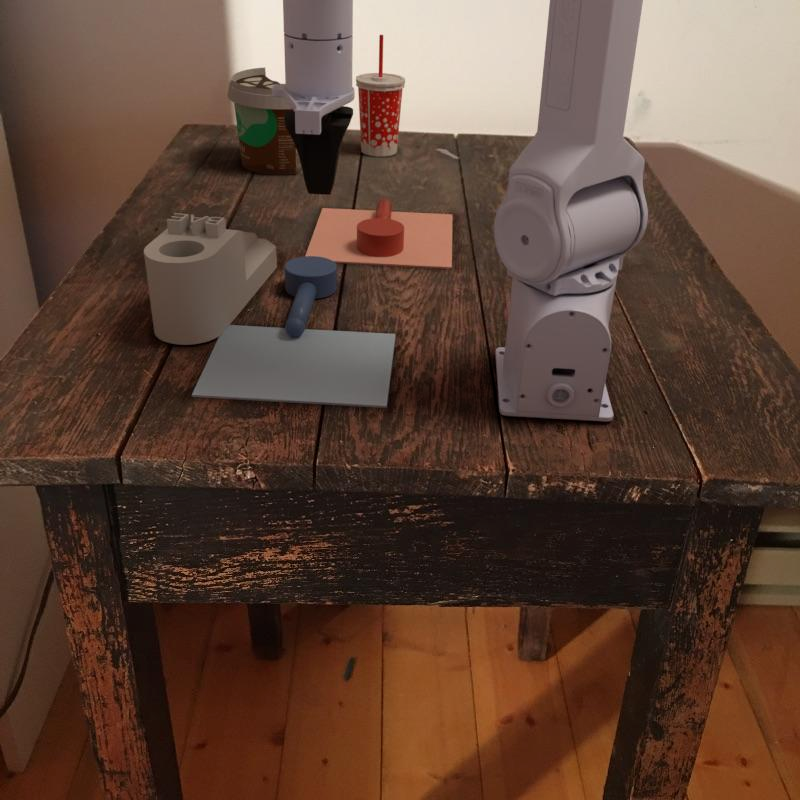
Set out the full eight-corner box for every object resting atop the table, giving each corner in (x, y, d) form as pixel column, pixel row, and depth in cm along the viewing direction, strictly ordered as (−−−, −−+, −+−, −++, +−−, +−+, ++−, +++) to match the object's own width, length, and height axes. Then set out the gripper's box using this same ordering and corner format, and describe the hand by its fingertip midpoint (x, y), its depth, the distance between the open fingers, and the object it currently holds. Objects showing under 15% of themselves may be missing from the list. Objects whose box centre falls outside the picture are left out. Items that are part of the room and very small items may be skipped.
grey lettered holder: (281, 261, 86) (277, 178, 82) (210, 348, 71) (201, 251, 67) (224, 255, 87) (217, 173, 83) (142, 340, 72) (128, 244, 68)
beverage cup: (411, 149, 118) (416, 34, 111) (386, 161, 114) (389, 42, 106) (372, 141, 121) (374, 28, 113) (345, 152, 116) (345, 35, 109)
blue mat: (386, 408, 65) (386, 405, 65) (191, 397, 66) (191, 394, 66) (395, 336, 75) (395, 333, 74) (224, 326, 75) (224, 324, 75)
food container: (219, 152, 114) (213, 69, 109) (267, 148, 117) (263, 66, 111) (249, 183, 105) (244, 94, 100) (300, 177, 107) (297, 90, 102)
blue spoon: (289, 277, 84) (288, 254, 82) (339, 279, 83) (339, 257, 82) (265, 338, 73) (263, 313, 72) (322, 341, 73) (322, 316, 72)
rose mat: (451, 269, 86) (451, 267, 86) (303, 261, 87) (303, 259, 87) (452, 216, 98) (452, 214, 98) (322, 209, 99) (322, 207, 98)
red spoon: (402, 258, 88) (403, 236, 86) (354, 256, 88) (355, 234, 87) (406, 212, 98) (406, 192, 97) (363, 210, 98) (363, 190, 97)
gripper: (284, 16, 83) (289, 164, 90) (254, 49, 70) (262, 218, 77) (362, 20, 82) (360, 168, 90) (345, 54, 70) (345, 222, 77)
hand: (320, 191), depth 84 cm, fingers closed
